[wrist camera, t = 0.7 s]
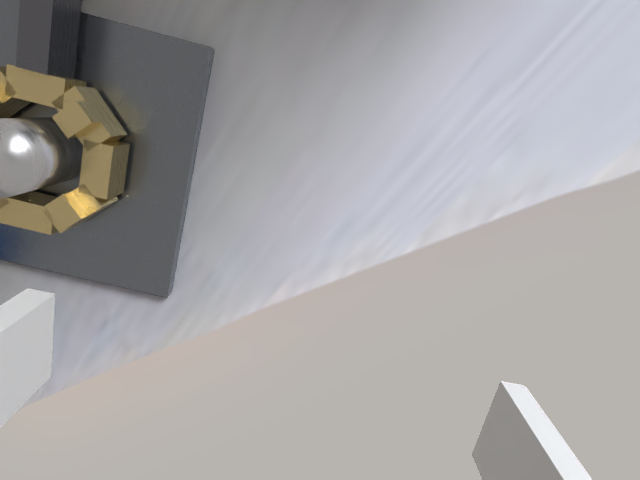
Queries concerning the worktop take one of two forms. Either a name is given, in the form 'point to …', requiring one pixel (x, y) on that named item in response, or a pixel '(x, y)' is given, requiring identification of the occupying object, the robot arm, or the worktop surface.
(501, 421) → the robot arm
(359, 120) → the worktop surface
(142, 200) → the base plate
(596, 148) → the worktop surface
